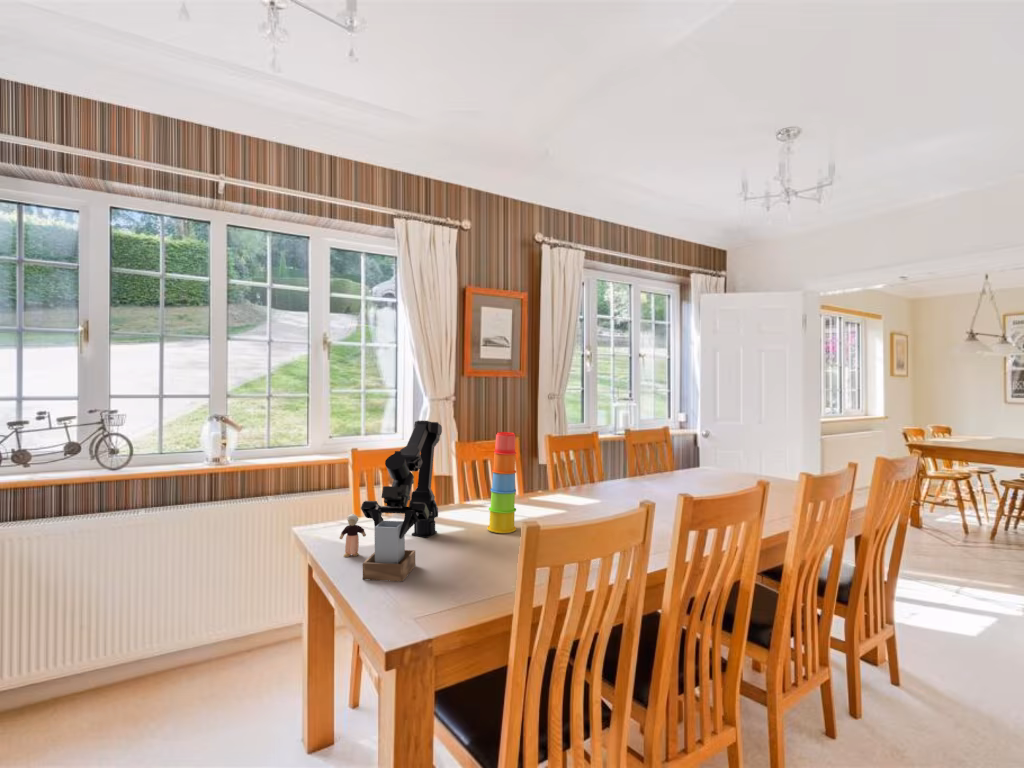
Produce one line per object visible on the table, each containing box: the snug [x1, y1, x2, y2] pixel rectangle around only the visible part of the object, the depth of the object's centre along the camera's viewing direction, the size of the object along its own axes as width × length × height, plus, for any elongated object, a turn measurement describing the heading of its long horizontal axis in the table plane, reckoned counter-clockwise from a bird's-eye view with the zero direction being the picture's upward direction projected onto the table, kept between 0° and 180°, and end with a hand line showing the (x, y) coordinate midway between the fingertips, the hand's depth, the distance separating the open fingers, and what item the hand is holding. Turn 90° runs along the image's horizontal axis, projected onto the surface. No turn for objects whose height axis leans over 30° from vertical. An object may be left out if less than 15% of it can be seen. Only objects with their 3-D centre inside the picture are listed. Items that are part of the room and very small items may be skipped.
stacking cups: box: [487, 431, 517, 534], centre depth 181 cm, size 10×10×35 cm
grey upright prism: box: [374, 520, 406, 564], centre depth 142 cm, size 6×6×10 cm
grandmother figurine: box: [338, 513, 367, 558], centre depth 156 cm, size 8×4×13 cm, turn 117°
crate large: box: [362, 549, 416, 582], centre depth 142 cm, size 11×11×4 cm
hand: (388, 537), depth 141 cm, fingers closed on grey upright prism, 6 cm apart
